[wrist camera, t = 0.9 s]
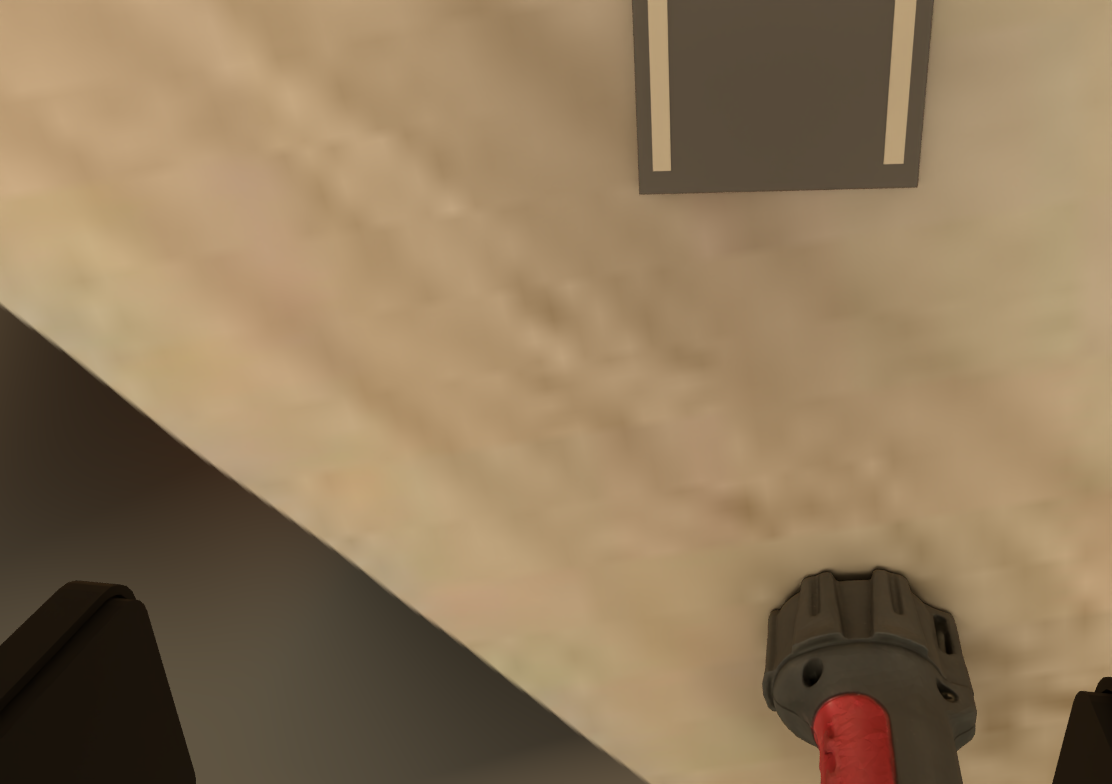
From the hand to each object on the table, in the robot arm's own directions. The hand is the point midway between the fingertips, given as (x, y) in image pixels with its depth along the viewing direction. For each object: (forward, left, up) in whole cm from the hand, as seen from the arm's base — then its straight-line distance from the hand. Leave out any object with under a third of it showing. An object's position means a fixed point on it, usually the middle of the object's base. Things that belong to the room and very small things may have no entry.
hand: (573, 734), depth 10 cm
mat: (-6, +2, -26) cm, 26 cm away
